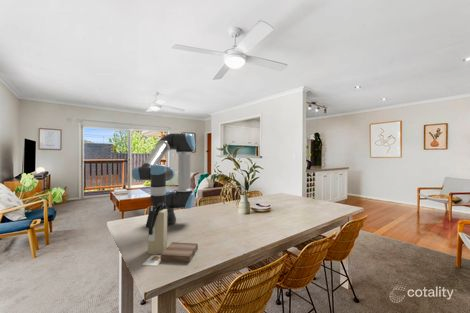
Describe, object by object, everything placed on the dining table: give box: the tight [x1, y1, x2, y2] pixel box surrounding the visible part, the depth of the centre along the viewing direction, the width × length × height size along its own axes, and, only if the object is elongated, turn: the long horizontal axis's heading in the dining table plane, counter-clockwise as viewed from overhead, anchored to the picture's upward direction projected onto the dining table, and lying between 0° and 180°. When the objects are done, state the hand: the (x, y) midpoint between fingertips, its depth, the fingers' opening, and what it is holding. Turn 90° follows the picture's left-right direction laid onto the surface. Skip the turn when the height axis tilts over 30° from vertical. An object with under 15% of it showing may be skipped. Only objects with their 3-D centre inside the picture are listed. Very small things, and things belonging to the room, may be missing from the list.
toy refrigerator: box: [147, 209, 168, 255], centre depth 110 cm, size 8×7×21 cm
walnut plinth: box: [159, 241, 199, 264], centre depth 106 cm, size 14×14×3 cm
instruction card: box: [141, 254, 162, 267], centre depth 100 cm, size 9×7×1 cm
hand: (157, 235), depth 110 cm, fingers open, 13 cm apart
